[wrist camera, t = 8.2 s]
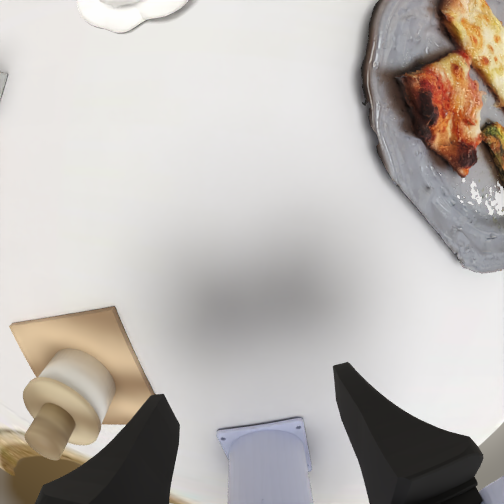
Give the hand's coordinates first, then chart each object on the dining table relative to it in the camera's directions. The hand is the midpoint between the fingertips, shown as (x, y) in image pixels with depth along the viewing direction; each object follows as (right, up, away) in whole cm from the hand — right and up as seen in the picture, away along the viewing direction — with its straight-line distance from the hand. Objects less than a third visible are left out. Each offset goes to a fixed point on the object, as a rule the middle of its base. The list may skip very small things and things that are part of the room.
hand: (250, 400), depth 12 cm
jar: (-15, -5, +12) cm, 19 cm away
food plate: (+19, +17, +6) cm, 27 cm away
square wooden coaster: (-15, -5, +12) cm, 20 cm away
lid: (-15, -6, +7) cm, 18 cm away
